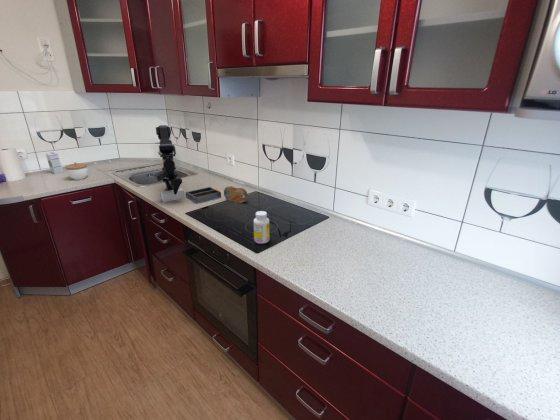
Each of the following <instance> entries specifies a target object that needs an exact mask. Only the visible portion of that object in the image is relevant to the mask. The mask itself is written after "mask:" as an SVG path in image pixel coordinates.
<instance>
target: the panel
mask: <svg viewBox="0 0 560 420" xmlns="http://www.w3.org/2000/svg"><path fill="white" fill-rule="evenodd" d="M184 191H185V190H184V189H183V188H180V187H179V189H178V192H177V194H174V191H173V190H170V191H165V190H164V191H160V197H161V201H162V202H164V203H165V202H171V201H176V200H180V199H184V198H185V192H184Z"/></svg>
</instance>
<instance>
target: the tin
mask: <svg viewBox="0 0 560 420" xmlns="http://www.w3.org/2000/svg"><path fill="white" fill-rule="evenodd" d="M223 196H224V198H225V199H226V200H228V201H230V202H234V203H239V204H242V203H244V202H247V200H248V196H249V195H248V192H247V191H246V189H245V188H243V187H239V186H238V187H237V186H232V185H229V186H226V187H225V188H224V189H223Z"/></svg>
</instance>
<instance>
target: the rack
mask: <svg viewBox="0 0 560 420" xmlns="http://www.w3.org/2000/svg"><path fill="white" fill-rule="evenodd" d="M185 197H186V199H188V200H190V201H191V202H193V203H194V204H199V203H204V202H208V201H212V200H216V199H221V198H222V192H221V191H220V190H219V189H217V188H213V187H212V186H207V187H203V188H199V189H194V190H190V191H189V190H188V191H186V192H185Z"/></svg>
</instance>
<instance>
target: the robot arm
mask: <svg viewBox="0 0 560 420" xmlns="http://www.w3.org/2000/svg"><path fill="white" fill-rule="evenodd" d="M155 133H156V136H157V139H158V140H159V145H158V150H159V156H160V158H161V159H162V165H163V167H161V169H162V170H160V171H157V172H156V173H154V174H153V177H154V179H155V181H157V182H160V181H162V183H164V184H165V187H166V188H164V192H165V191H170V190H173V191H174V194H177V192H178V189H180V186H181V185H182V183H183V178H181V177H179V174H178V172H177V171H176V170H177V168H176V164H175V159H174V157H176V155H177V153H176V147H175V144H173V141H172V140H171V135H172V130H171V127H170V126H168V125H165V124H164V125H158V126H157V127H155Z"/></svg>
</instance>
